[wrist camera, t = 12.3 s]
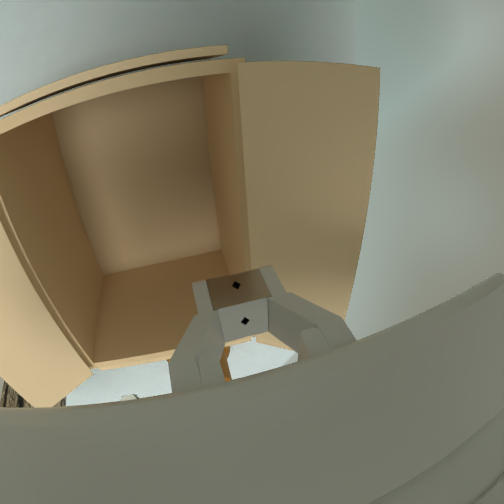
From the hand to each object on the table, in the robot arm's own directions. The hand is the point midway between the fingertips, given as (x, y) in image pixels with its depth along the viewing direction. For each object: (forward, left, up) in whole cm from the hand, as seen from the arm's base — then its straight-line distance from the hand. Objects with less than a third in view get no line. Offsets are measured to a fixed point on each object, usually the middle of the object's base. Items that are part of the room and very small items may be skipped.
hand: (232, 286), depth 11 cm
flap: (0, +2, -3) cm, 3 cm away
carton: (0, -4, -14) cm, 14 cm away
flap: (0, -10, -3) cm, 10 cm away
